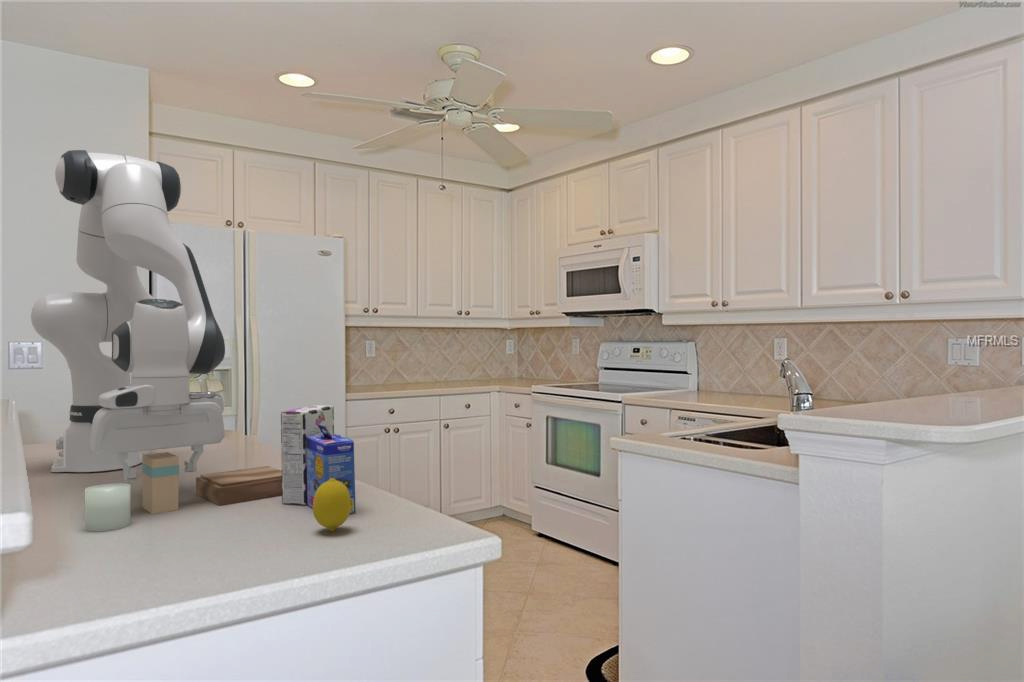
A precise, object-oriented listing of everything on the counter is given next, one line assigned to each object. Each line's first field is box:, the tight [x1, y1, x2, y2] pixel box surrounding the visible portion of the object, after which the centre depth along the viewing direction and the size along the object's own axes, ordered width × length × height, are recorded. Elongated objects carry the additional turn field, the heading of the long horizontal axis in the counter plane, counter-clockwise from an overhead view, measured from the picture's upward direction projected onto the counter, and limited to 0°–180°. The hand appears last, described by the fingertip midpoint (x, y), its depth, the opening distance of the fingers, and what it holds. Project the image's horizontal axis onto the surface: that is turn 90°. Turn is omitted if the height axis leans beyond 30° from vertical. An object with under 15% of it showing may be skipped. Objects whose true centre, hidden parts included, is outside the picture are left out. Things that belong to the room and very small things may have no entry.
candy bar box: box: [280, 404, 335, 506], centre depth 120 cm, size 11×5×16 cm, turn 168°
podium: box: [195, 465, 282, 506], centre depth 123 cm, size 12×14×4 cm
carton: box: [141, 451, 180, 515], centre depth 112 cm, size 6×4×9 cm
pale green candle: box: [84, 482, 131, 533], centre depth 101 cm, size 6×6×6 cm
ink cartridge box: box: [306, 424, 357, 514], centre depth 112 cm, size 10×6×14 cm, turn 35°
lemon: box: [312, 478, 351, 532], centre depth 99 cm, size 6×6×8 cm
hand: (160, 475), depth 112 cm, fingers open, 8 cm apart
